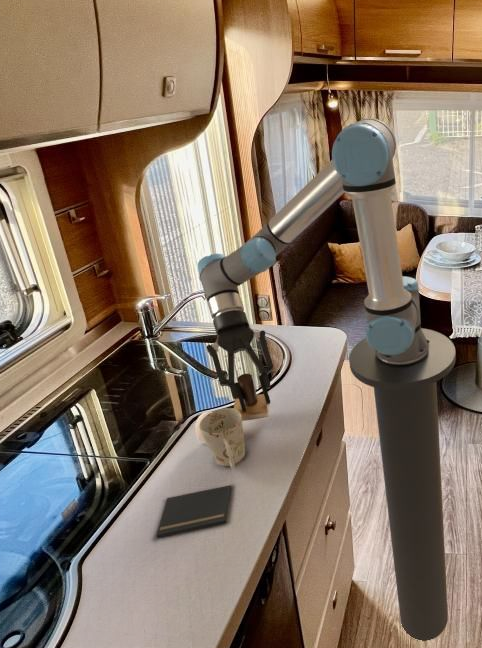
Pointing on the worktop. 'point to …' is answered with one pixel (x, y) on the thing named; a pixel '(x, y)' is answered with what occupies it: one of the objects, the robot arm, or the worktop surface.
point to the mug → (224, 435)
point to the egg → (197, 428)
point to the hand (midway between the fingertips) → (256, 406)
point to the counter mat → (194, 511)
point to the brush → (251, 400)
